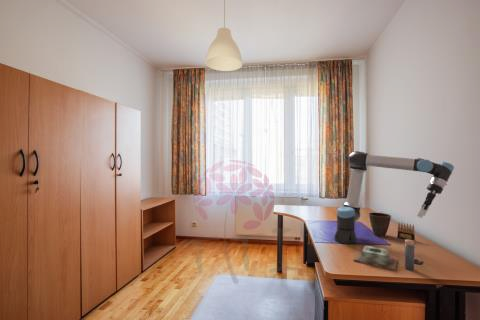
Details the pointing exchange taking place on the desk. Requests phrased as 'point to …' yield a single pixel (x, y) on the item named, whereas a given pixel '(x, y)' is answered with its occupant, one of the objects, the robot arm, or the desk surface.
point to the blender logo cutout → (418, 262)
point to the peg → (409, 255)
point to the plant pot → (379, 223)
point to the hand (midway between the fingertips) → (420, 215)
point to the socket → (376, 257)
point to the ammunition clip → (406, 232)
